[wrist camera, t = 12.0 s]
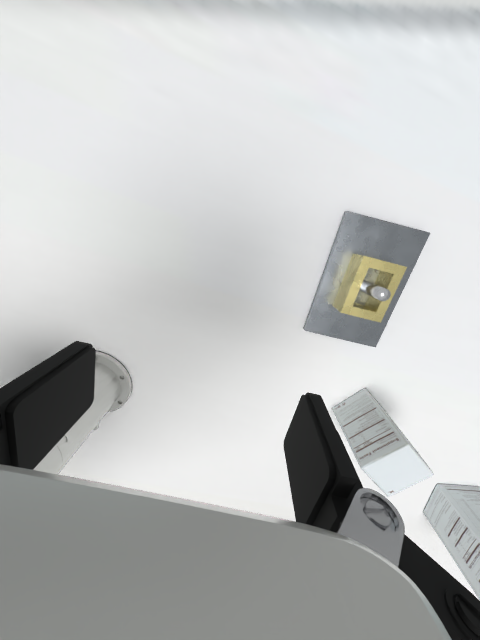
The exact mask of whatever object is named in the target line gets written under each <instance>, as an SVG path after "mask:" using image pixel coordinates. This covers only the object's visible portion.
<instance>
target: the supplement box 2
mask: <svg viewBox="0 0 480 640" xmlns="http://www.w3.org/2000/svg"><path fill="white" fill-rule="evenodd" d="M423 513H424V514H425V516H426V517H427V519H428V520H429V522H430V524H431V525H432V527H433V528H434V530H435V531H436V533H437V534H438V536H439V538H440V539H441V541H442V542H443V544H444V545H445V547H446V548H447V550H448V552H449V553H450V555H451V556H452V558H453V559H454V561H455V562H456V564H457V566H458V567H459V569H460V570H461V572H462V573H463V575H464V577H465V578H466V580H467V581H468V583H469V584H470V586H471V587H472V589H473V591H474V592H475V594H476V595H477V597H478V598H479V600H480V487H476V486H462V485H447V484H437V485H436V487H435V489H434V491H433V493H432V495H431V497H430V499H429V501H428V503H427V506H426V508H425V510H424V511H423Z"/></svg>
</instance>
